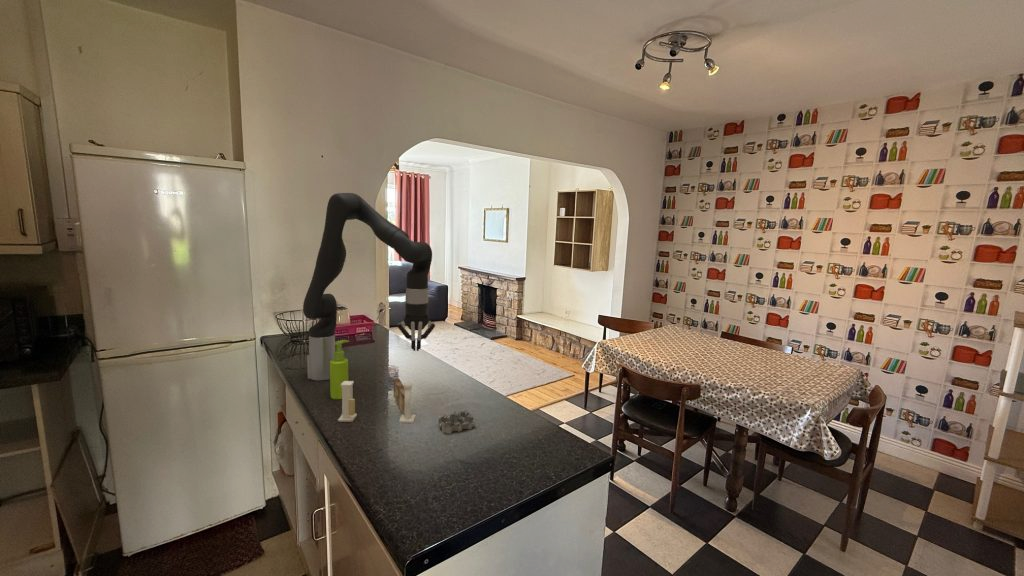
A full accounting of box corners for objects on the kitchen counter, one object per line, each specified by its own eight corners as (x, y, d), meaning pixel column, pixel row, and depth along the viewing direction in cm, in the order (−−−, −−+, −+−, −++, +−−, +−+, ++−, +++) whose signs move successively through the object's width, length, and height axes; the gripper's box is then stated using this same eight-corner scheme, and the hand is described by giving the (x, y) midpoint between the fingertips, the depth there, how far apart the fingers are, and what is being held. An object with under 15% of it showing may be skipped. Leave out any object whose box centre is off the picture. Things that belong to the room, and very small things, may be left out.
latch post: (337, 421, 125) (337, 385, 124) (343, 414, 130) (342, 380, 128) (353, 421, 126) (353, 385, 124) (358, 415, 130) (358, 380, 128)
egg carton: (443, 436, 121) (443, 423, 120) (436, 424, 127) (436, 412, 127) (476, 429, 125) (476, 417, 125) (467, 418, 132) (468, 407, 131)
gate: (392, 396, 143) (393, 378, 142) (398, 395, 144) (398, 378, 143) (403, 415, 130) (403, 396, 129) (409, 414, 131) (409, 395, 130)
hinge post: (399, 422, 127) (399, 384, 125) (402, 416, 131) (402, 379, 129) (413, 423, 127) (413, 385, 125) (415, 416, 131) (416, 379, 129)
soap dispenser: (354, 393, 146) (353, 340, 143) (338, 400, 140) (338, 345, 137) (342, 390, 148) (341, 337, 145) (326, 396, 142) (325, 342, 139)
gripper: (395, 303, 131) (395, 354, 134) (437, 303, 134) (436, 353, 137) (397, 298, 138) (396, 347, 141) (436, 299, 142) (435, 346, 144)
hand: (416, 350), depth 139 cm, fingers closed
